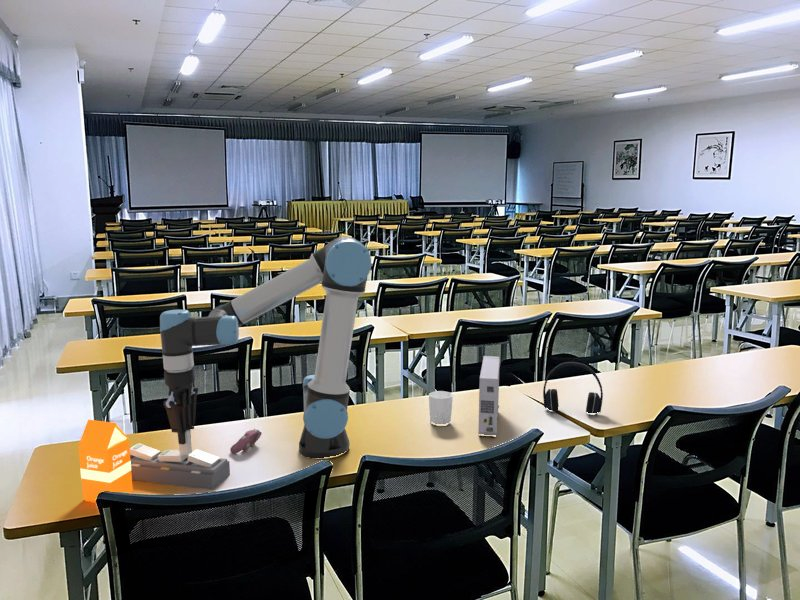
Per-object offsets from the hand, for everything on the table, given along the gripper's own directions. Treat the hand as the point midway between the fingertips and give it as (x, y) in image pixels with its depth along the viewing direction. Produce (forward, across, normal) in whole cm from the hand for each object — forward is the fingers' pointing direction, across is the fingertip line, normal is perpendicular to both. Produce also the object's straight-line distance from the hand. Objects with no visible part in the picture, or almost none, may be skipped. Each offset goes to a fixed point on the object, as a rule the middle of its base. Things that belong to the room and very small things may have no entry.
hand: (185, 453), depth 169 cm
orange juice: (+7, +14, -14) cm, 21 cm away
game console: (+9, -60, +75) cm, 96 cm away
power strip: (+7, 0, -4) cm, 8 cm away
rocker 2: (+1, 0, -4) cm, 4 cm away
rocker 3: (+1, 0, +5) cm, 5 cm away
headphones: (+10, -78, +102) cm, 129 cm away
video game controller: (+7, -22, +6) cm, 24 cm away
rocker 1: (+1, 0, -13) cm, 13 cm away
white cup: (+9, -57, +59) cm, 83 cm away
